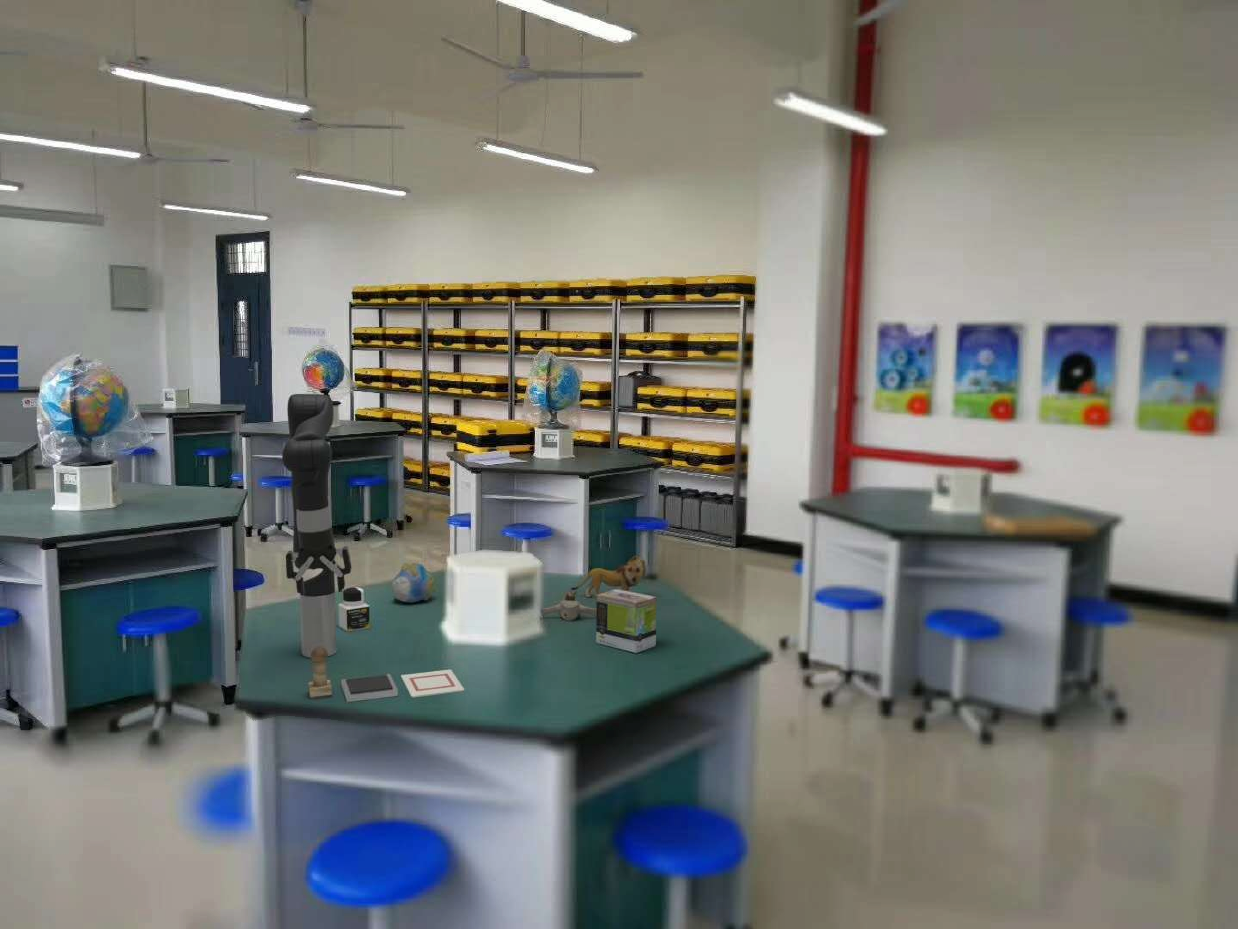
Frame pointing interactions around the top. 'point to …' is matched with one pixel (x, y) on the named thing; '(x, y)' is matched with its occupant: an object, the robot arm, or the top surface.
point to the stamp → (319, 675)
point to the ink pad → (369, 688)
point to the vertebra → (569, 607)
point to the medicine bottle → (353, 610)
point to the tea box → (626, 620)
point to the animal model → (616, 576)
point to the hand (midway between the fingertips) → (321, 592)
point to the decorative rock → (413, 583)
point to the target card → (432, 683)
